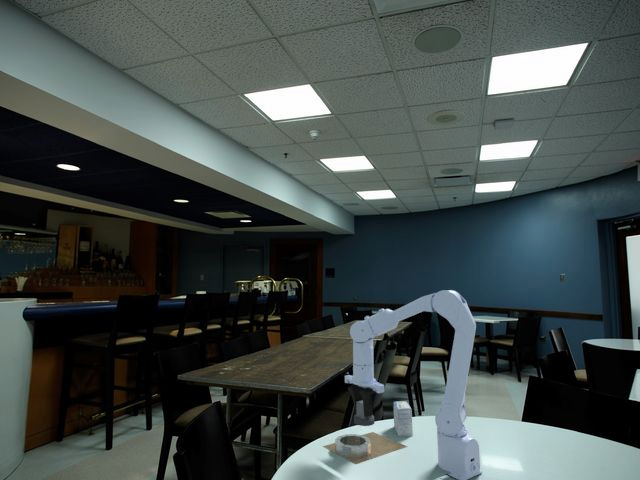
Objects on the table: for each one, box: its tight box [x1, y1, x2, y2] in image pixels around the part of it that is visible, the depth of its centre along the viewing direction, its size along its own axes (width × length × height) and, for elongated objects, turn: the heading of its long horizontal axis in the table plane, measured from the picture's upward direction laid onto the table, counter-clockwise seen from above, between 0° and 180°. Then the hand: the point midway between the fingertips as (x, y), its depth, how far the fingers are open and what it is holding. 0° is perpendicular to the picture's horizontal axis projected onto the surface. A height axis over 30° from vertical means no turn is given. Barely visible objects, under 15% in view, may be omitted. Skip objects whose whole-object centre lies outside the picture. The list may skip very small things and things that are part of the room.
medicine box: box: [393, 400, 414, 437], centre depth 123 cm, size 8×4×9 cm, turn 179°
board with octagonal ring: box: [322, 431, 408, 465], centre depth 111 cm, size 14×19×3 cm
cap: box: [353, 400, 375, 427], centre depth 111 cm, size 6×6×6 cm
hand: (363, 414), depth 110 cm, fingers closed on cap, 3 cm apart
